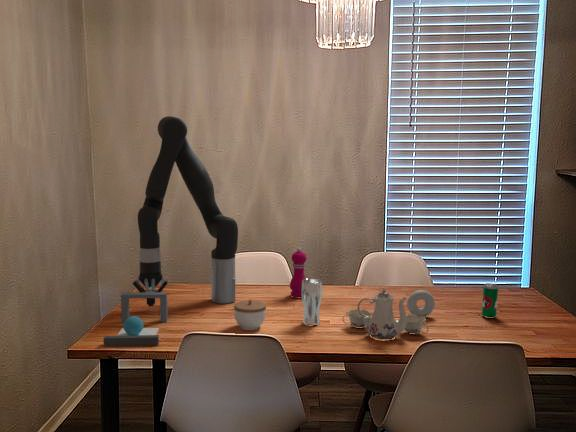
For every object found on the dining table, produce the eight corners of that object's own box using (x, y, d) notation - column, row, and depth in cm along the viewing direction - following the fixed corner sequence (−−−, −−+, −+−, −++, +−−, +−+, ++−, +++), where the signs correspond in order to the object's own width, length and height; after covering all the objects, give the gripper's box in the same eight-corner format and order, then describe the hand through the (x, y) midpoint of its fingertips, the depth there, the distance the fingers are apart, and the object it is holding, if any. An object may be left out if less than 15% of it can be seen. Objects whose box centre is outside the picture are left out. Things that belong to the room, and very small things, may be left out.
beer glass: (323, 321, 190) (324, 279, 188) (318, 327, 183) (319, 284, 181) (304, 319, 192) (305, 277, 190) (298, 325, 185) (299, 282, 183)
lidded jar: (254, 334, 176) (254, 306, 174) (227, 329, 181) (227, 301, 180) (271, 325, 185) (272, 298, 184) (245, 320, 190) (245, 294, 189)
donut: (432, 315, 198) (433, 288, 196) (435, 318, 194) (436, 291, 193) (405, 315, 197) (406, 288, 196) (407, 318, 194) (409, 291, 192)
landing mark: (159, 328, 180) (159, 327, 180) (153, 341, 169) (153, 340, 169) (121, 329, 179) (121, 328, 179) (113, 341, 168) (113, 341, 168)
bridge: (123, 319, 189) (122, 292, 188) (167, 319, 190) (167, 292, 189) (121, 322, 186) (120, 294, 185) (166, 322, 187) (165, 294, 186)
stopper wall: (158, 342, 167) (158, 335, 167) (157, 345, 165) (157, 337, 165) (105, 343, 166) (105, 335, 166) (103, 346, 164) (103, 338, 164)
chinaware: (427, 334, 183) (429, 285, 182) (429, 347, 166) (431, 293, 166) (343, 328, 188) (345, 280, 188) (337, 339, 172) (339, 287, 172)
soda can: (497, 319, 194) (499, 286, 192) (482, 318, 195) (484, 286, 193) (495, 315, 199) (497, 283, 197) (480, 314, 200) (482, 282, 198)
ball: (140, 320, 170) (140, 338, 171) (145, 314, 176) (145, 331, 177) (121, 319, 170) (121, 337, 171) (126, 313, 176) (126, 330, 177)
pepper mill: (305, 299, 217) (306, 249, 214) (287, 298, 218) (288, 248, 216) (308, 294, 224) (309, 246, 221) (291, 293, 225) (292, 245, 223)
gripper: (129, 261, 194) (130, 309, 196) (167, 261, 195) (168, 308, 197) (133, 257, 202) (134, 303, 204) (170, 257, 203) (170, 302, 205)
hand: (151, 305), depth 201 cm, fingers closed
